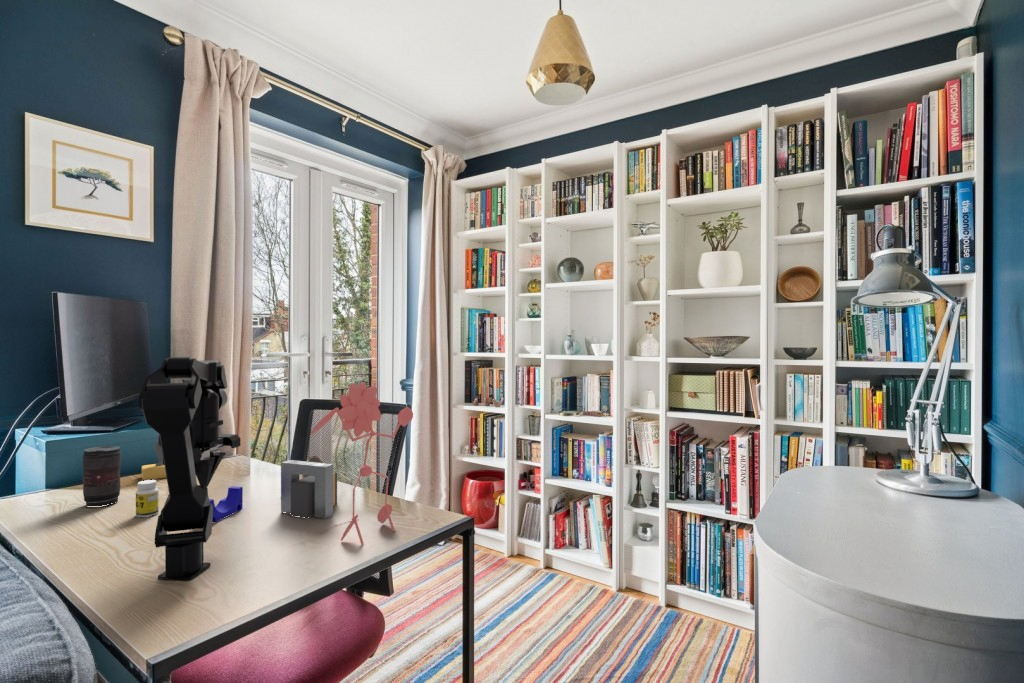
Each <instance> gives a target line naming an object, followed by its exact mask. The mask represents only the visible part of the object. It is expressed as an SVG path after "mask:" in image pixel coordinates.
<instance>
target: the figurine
mask: <svg viewBox="0 0 1024 683" xmlns="http://www.w3.org/2000/svg"><path fill="white" fill-rule="evenodd" d="M377 392H378V387H376V386H372V385H371V386H369V387H367V385H366V382H364V381H362V382H360V383H359V384H358V385H356V383H350V385H349V387H348V393H347V394H348V395H346V394H341V396H339V401H340V405H341V407H342V408H341V409H339V407H335V408H334V409H332V410H330V411H329V412H328V413H327V414H326V415H325V416H323V418H321V419H320V420H319V422H318V423H317V424H316V425H315V426H314V428H313V430H312V431H311V432H310V436H312V435H313V434H315V433H316V432H318V431H319V430H321V429H322V428H323V427H324V426H325V425H326V424H328V422H329V421H330V420H331V419H332V418H333V417H334V415H335V414H337V416H338V418H339V420H340V421H341V422H342V425H341V428H342V430H343V431H346V433H347V435H348V436H349V438H350V440H351V442H352V443H353V442H355V441H358V440H361V439H364V438H366V437H368V439H367V440H366V442H365V452H364V459H363V460H364V461H363V464H362V466H361V467H360V468H359V475H358V478H357V479H356V482H355V484H354V486H353V488H352V517H351V520H350V521H348V523H349V524H348V525H347V527H346V529H345V530H344V532H343V533H342V536H341V539H340V541H341V542H343V540H344V538H345V537H346V536H347V535H348V533H349V532H350V530H351V529H352V528H353V526H354V525H355V528H356V532H357V535H358V538H359V542H360V545H364V543H365V542H364V540H363V537H362V534H361V529H360V528H359V525H358V524H359V523H358V518H359V514H358V513H356V514H355V495H356V493H355V489H356V488H357V485H358V483H359V481H360V479H361V476H362V477H363V478H365V477H366V478H367V477H369V476H371V475H372V474H374V475H377V476H380V477H383V478H386V486H385V487H386V490H385V501H384V505H383V506H382V507H381V508H380V510H379V511H378V513H377V516H376V517H377V521H378V523H381V524H384V523H385V522H386V521H387V519H388V522H389V525H390V528H391V530H392V532H395V531H396V530H395V526H394V524H393V521H392V518H391V514H392V512H393V507H392V504H391V503H388V492H389V490H388V489H389V481H390V480H389V476H387V475H384V474H381V473H378V472H376V471H373V469H372V467H371V466H370V465H369V464H367V458H368V451H369V446H370V445H369V444H370V441H371V440H372V437H374V436H378V437H379V436H380V437H385V438H391V439H394V438H395V436H396V435H397V433H398V430H399V429H400V427H401V426H402V427H406V426H407V425H408V424H410V423H411V422H412V420H413V418H414V412H413V410H412V409H411V408H409V406H405V407H404V408H403V409H401V410H400V411H399V413H398V414H397V417H396V418H397V421H398V424H397V426H396V428H395V430H394V432H393V433H392V435H391V434H386V433H380V432H375V431H374V429H373V421H375V422H379V421H380V420H382V414H381V410H380V409H379V408H380V405H381V401H380V400H379V399H378V398H377V397H376V396H377V394H378V393H377ZM352 429H353V434H354V436H355V438H354V437H353V435H352V434H351V432H350V430H352ZM363 433H366V434H363ZM362 434H363V435H362ZM346 522H347V521H346ZM346 522H344V524H346ZM410 522H411V523H412V524H415V522H414V521H410ZM340 524H341V523H339V524H335V527H337V525H338V526H340Z"/></svg>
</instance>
